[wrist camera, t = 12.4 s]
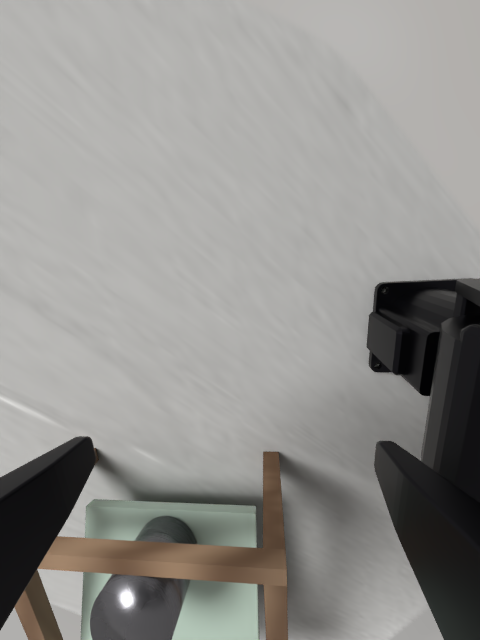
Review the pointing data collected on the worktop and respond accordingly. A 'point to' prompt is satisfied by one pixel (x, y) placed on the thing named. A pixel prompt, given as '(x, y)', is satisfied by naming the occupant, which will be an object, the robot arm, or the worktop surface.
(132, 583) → the cylinder
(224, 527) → the trapdoor
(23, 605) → the stand
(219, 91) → the worktop surface
